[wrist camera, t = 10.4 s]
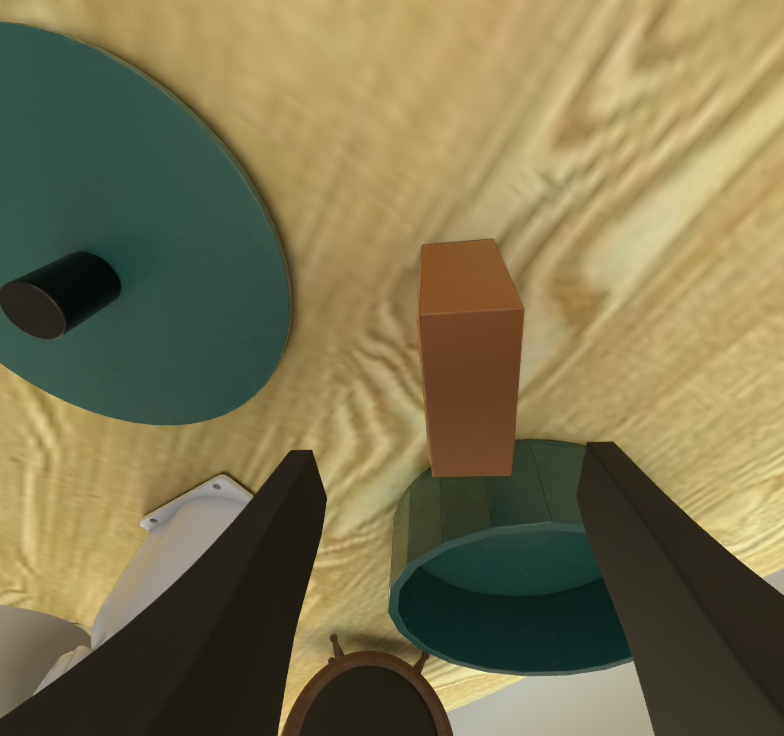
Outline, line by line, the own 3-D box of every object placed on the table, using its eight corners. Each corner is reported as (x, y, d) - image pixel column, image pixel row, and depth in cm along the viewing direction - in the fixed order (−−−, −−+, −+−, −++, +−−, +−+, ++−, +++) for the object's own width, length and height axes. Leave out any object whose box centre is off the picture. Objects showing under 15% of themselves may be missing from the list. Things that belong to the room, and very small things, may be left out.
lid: (205, 456, 26) (168, 518, 22) (-114, 288, 20) (-235, 332, 17) (371, 245, 17) (356, 288, 14) (-94, -130, 12) (-325, -227, 8)
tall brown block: (429, 379, 21) (429, 477, 16) (419, 244, 17) (415, 314, 12) (492, 376, 21) (514, 476, 15) (496, 238, 17) (527, 307, 11)
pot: (509, 616, 34) (522, 695, 30) (346, 530, 29) (331, 610, 25) (710, 529, 26) (768, 620, 22) (533, 389, 21) (561, 470, 17)
